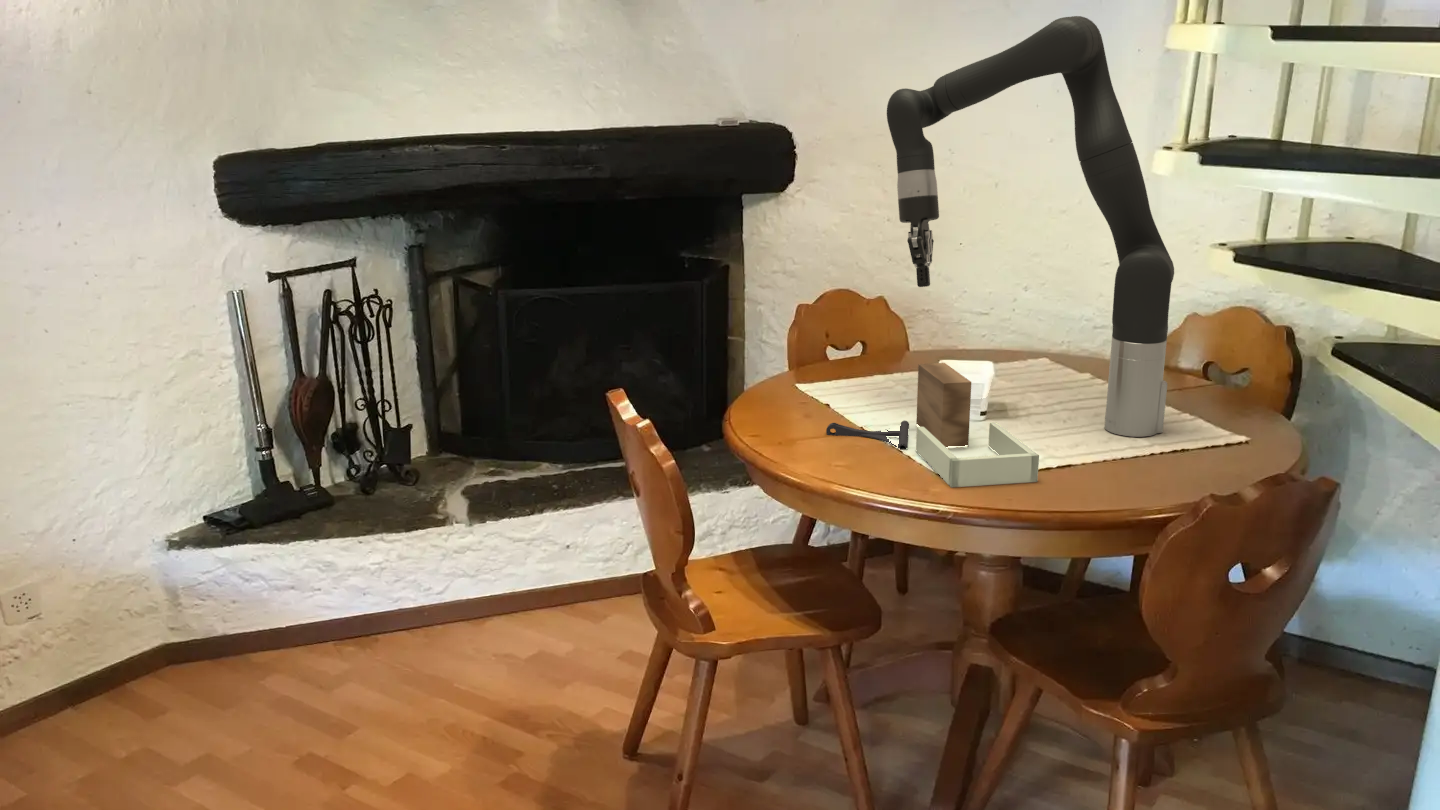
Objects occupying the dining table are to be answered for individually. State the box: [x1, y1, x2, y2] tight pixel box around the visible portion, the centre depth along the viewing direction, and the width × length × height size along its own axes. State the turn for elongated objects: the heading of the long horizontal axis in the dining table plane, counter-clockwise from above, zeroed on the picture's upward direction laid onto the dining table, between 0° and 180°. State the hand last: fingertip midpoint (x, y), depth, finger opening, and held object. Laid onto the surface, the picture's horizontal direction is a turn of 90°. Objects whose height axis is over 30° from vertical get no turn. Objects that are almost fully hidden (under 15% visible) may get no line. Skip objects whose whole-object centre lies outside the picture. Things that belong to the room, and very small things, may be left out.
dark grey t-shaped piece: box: [825, 420, 910, 449], centre depth 203 cm, size 14×15×3 cm
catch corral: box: [915, 421, 1040, 488], centre depth 186 cm, size 14×18×4 cm
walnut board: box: [916, 362, 972, 447], centre depth 201 cm, size 5×14×12 cm, turn 8°
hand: (923, 286), depth 214 cm, fingers closed
